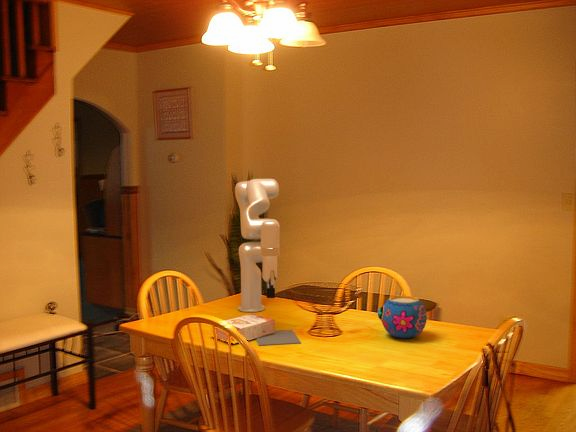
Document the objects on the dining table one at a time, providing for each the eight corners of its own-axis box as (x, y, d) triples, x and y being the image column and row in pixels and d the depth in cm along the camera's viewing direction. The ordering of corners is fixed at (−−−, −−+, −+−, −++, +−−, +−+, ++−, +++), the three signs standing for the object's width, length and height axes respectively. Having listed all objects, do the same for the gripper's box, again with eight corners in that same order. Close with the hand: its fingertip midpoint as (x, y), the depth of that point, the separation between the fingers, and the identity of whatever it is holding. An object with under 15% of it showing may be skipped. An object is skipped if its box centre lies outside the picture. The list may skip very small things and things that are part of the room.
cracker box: (274, 318, 231) (232, 330, 217) (275, 333, 231) (233, 346, 217) (252, 312, 241) (210, 323, 227) (253, 326, 242) (211, 338, 228)
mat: (253, 332, 235) (253, 331, 235) (292, 330, 237) (292, 329, 237) (258, 345, 217) (258, 344, 217) (301, 343, 220) (301, 342, 220)
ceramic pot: (392, 328, 240) (392, 292, 239) (433, 335, 230) (434, 297, 229) (372, 338, 226) (372, 300, 225) (415, 346, 216) (416, 306, 215)
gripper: (258, 249, 238) (258, 294, 240) (263, 255, 224) (263, 302, 225) (276, 249, 240) (276, 293, 241) (282, 254, 225) (283, 301, 226)
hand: (270, 297), depth 233 cm, fingers closed
